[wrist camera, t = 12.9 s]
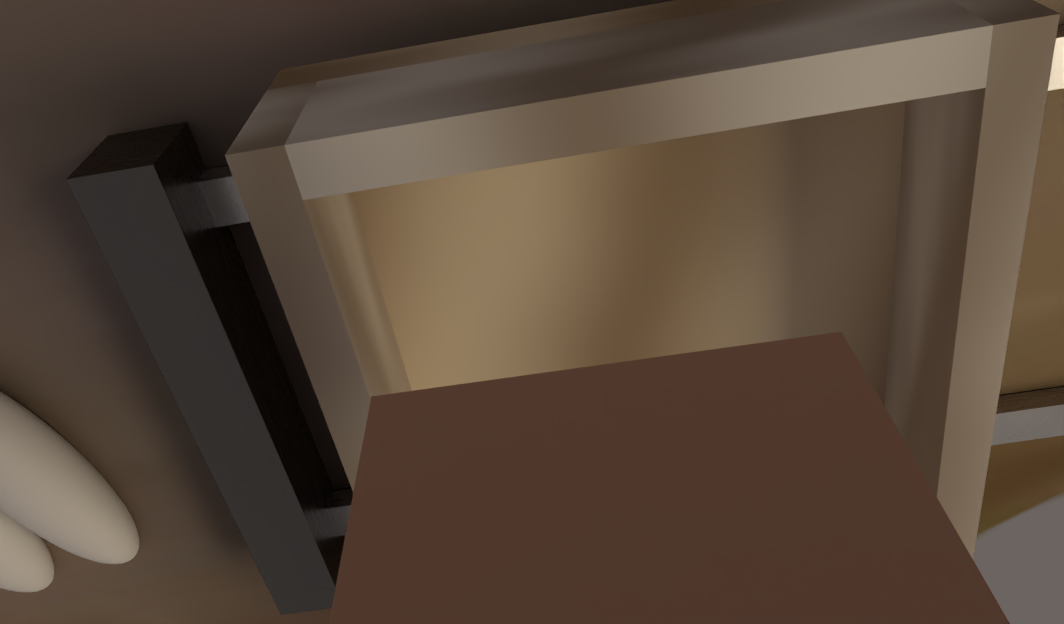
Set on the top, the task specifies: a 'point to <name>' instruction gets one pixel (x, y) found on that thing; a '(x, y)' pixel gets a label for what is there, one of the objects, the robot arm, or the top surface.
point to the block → (653, 500)
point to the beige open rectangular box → (665, 202)
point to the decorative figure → (52, 503)
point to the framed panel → (269, 350)
